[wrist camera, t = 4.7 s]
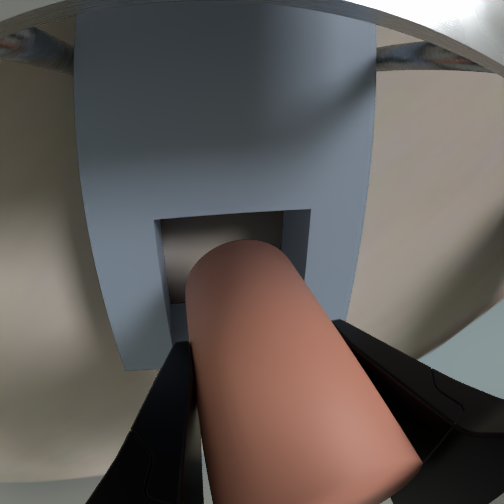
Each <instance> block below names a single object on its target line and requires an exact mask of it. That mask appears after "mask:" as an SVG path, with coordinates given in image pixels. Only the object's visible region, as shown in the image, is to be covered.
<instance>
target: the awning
mask: <svg viewBox="0 0 504 504" xmlns="http://www.w3.org/2000/svg"><path fill="white" fill-rule="evenodd" d="M180 1H233V2H250V3H263V4H273V5H281V6H289V7H296V8H303V9H309V10H315V11H320V12H326V13H331V14H335V15H340V16H344V17H349V18H353V19H357V20H361V21H365V22H369V23H372V24H376V25H379V26H383V27H386V28H389V29H392V30H396V31H399V32H402V33H405V34H408V35H410V36H413V37H416V38H419V39H422V40H424V41H422V42H413V43H405V44H397V45H390V46H384V47H378V48H376V71H394V70H458V71H475V72H488V73H496V74H498V75H500V76H502V77H503V78H504V0H0V59H3V60H9V61H14V62H19V63H24V64H29V65H33V66H38V67H42V68H47V69H51V70H55V71H59V72H63V73H67V74H71V75H74V47H73V46H71V45H69V44H67V43H65V42H63V41H61V40H59V39H57V38H55V37H53V36H51V35H49V34H47V33H45V32H43V31H41V30H39V29H37V28H35V27H34V26H37V25H40V24H44V23H47V22H51V21H55V20H58V19H62V18H66V17H70V16H75V15H79V14H84V13H89V12H94V11H99V10H105V9H111V8H117V7H124V6H132V5H140V4H150V3H162V2H180Z"/></svg>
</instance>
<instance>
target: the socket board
mask: <svg viewBox="0 0 504 504" xmlns="http://www.w3.org/2000/svg"><path fill="white" fill-rule="evenodd" d="M375 94H376V24H372V23H369V22H365V21H361V20H357V19H353V18H349V17H344V16H340V15H335V14H331V13H326V12H320V11H315V10H309V9H303V8H296V7H289V6H281V5H273V4H263V3H250V2H233V1H180V2H162V3H150V4H140V5H132V6H124V7H117V8H111V9H105V10H99V11H94V12H89V13H84V14H79V15H76V27H75V45H74V110H75V129H76V142H77V154H78V164H79V173H80V181H81V188H82V196H83V202H84V209H85V215H86V221H87V227H88V232H89V237H90V243H91V248H92V252H93V257H94V262H95V266H96V271H97V275H98V279H99V283H100V287H101V291H102V295H103V299H104V303H105V307H106V310H107V314H108V317H109V321H110V324H111V328H112V331H113V334H114V338H115V341H116V344H117V347H118V350H119V353H120V356H121V359H122V362H123V365H124V368H125V371H135V370H150V369H161V367H162V365H163V363H164V361H165V360H166V358H167V356H168V354H169V352H170V350H171V348H172V346H173V344H174V343H175V342H177V341H189V334H188V323H187V312H186V303H180V304H170V297H169V290H168V283H167V276H166V268H165V260H164V251H163V243H162V233H161V224H160V219H168V218H180V217H192V216H205V215H218V214H233V213H248V212H264V211H281V210H283V228H282V247H281V251H282V252H283V253H284V254H285V255H286V256H287V257H288V259H289V260H290V261H291V263H292V264H293V266H294V267H295V269H296V270H297V271H298V273H299V274H300V276H301V277H302V279H303V280H304V282H305V283H306V285H307V286H308V287H309V289H310V290H311V292H312V293H313V295H314V296H315V298H316V299H317V301H318V302H319V304H320V305H321V307H322V308H323V310H324V311H325V313H326V314H327V315H328V317H329V318H330V320H336V319H341V320H343V321H346V316H347V312H348V307H349V302H350V297H351V292H352V287H353V282H354V277H355V271H356V266H357V260H358V254H359V248H360V242H361V236H362V229H363V222H364V215H365V208H366V200H367V192H368V184H369V175H370V165H371V155H372V143H373V130H374V115H375Z"/></svg>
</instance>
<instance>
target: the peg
mask: <svg viewBox="0 0 504 504" xmlns="http://www.w3.org/2000/svg"><path fill="white" fill-rule="evenodd" d="M185 299H186V312H187V323H188V334H189V342H190V348H191V356H192V365H193V373H194V382H195V395H196V403H197V411H198V418H199V425H200V431H201V438H202V444H203V451H204V457H205V463H206V468H207V474H208V480H209V485H210V490H211V495H212V501H213V504H380V503H382V502H383V501H385V500H387V499H388V498H390V497H391V496H393V495H394V494H395V493H397V492H398V491H399V490H401V489H402V488H403V487H404V486H406V485H407V484H408V483H409V482H410V481H411V480H412V479H413V478H414V477H415V476H416V475H417V474H418V472H419V471H420V469H421V467H422V461H421V459H420V458H419V456H418V454H417V453H416V451H415V449H414V448H413V446H412V445H411V443H410V441H409V440H408V438H407V437H406V435H405V433H404V432H403V430H402V429H401V427H400V426H399V424H398V422H397V421H396V419H395V418H394V416H393V415H392V413H391V411H390V410H389V408H388V407H387V405H386V404H385V402H384V400H383V399H382V397H381V396H380V394H379V393H378V391H377V390H376V388H375V387H374V385H373V383H372V382H371V380H370V379H369V377H368V376H367V374H366V373H365V371H364V370H363V368H362V367H361V365H360V364H359V362H358V361H357V359H356V357H355V356H354V354H353V353H352V351H351V350H350V348H349V347H348V345H347V344H346V342H345V341H344V339H343V338H342V336H341V335H340V333H339V332H338V330H337V329H336V327H335V326H334V324H333V323H332V321H331V320H330V318H329V317H328V315H327V314H326V313H325V311H324V310H323V308H322V307H321V305H320V304H319V302H318V301H317V299H316V298H315V296H314V295H313V293H312V292H311V290H310V289H309V287H308V286H307V285H306V283H305V282H304V280H303V279H302V277H301V276H300V274H299V273H298V271H297V270H296V269H295V267H294V266H293V264H292V263H291V261H290V260H289V259H288V257H287V256H286V255H285V254H284V253H283V252H282V251H281V250H279V249H278V248H277V247H275V246H273V245H271V244H268V243H266V242H262V241H258V240H237V241H232V242H228V243H225V244H222V245H220V246H218V247H216V248H214V249H212V250H211V251H209V252H208V253H206V254H205V255H204V256H203V257H202V258H201V259H200V260H199V261H198V262H197V263H196V264H195V266H194V267H193V269H192V270H191V272H190V274H189V276H188V279H187V283H186V288H185Z"/></svg>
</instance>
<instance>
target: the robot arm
mask: <svg viewBox="0 0 504 504" xmlns="http://www.w3.org/2000/svg"><path fill="white" fill-rule="evenodd" d="M331 321H332V323H333V324H334V326H335V327H336V329H337V330H338V332H339V333H340V335H341V336H342V338H343V339H344V341H345V342H346V344H347V345H348V347H349V348H350V350H351V351H352V353H353V354H354V356H355V357H356V359H357V361H358V362H359V364H360V365H361V367H362V368H363V370H364V371H365V373H366V374H367V376H368V377H369V379H370V380H371V382H372V383H373V385H374V387H375V388H376V390H377V391H378V393H379V394H380V396H381V397H382V399H383V400H384V402H385V404H386V405H387V407H388V408H389V410H390V411H391V413H392V415H393V416H394V418H395V419H396V421H397V422H398V424H399V426H400V427H401V429H402V430H403V432H404V433H405V435H406V437H407V438H408V440H409V441H410V443H411V445H412V446H413V448H414V449H415V451H416V453H417V454H418V456H419V458H420V459H421V461H422V467H421V469H420V471H419V472H418V474H417V475H416V476H415V477H414V478H413V479H412V480H411V481H410V482H409V483H408V484H407V485H406V486H404V487H403V488H402V489H401V490H399V491H398V492H397V493H395V494H394V495H393V496H391V500H392V502H393V504H504V399H501V398H498V397H495V396H492V395H490V394H488V393H485V392H483V391H480V390H478V389H475V388H473V387H470V386H468V385H466V384H464V383H461V382H459V381H457V380H455V379H452V378H450V377H448V376H446V375H444V374H442V373H441V372H439V371H437V370H435V369H431V367H429V366H427V365H425V364H423V363H421V362H420V361H418V360H416V359H414V358H412V357H410V356H408V355H406V354H405V353H403V352H401V351H399V350H397V349H395V348H393V347H391V346H390V345H388V344H386V343H384V342H382V341H380V340H378V339H377V338H375V337H373V336H371V335H369V334H367V333H366V332H364V331H362V330H360V329H358V328H356V327H354V326H353V325H351V324H349V323H347V322H345V321H343V320H341V319H336V320H331ZM85 504H204V498H203V479H202V455H201V431H200V425H199V418H198V411H197V403H196V395H195V382H194V373H193V365H192V356H191V348H190V342H189V341H177V342H175V343H174V344H173V346H172V348H171V350H170V352H169V354H168V356H167V358H166V360H165V361H164V363H163V365H162V367H161V369H160V371H159V373H158V375H157V377H156V379H155V381H154V383H153V385H152V387H151V389H150V391H149V393H148V395H147V397H146V399H145V401H144V403H143V405H142V407H141V409H140V411H139V413H138V415H137V417H136V419H135V421H134V423H133V425H132V427H131V431H129V433H128V435H127V437H126V439H125V441H124V443H123V445H122V447H121V449H120V451H119V452H118V454H117V456H116V458H115V460H114V461H113V463H112V464H111V466H110V468H109V469H108V471H107V472H106V474H105V475H104V477H103V478H102V480H101V481H100V483H99V484H98V486H97V487H96V489H95V490H94V492H93V493H92V495H91V496H90V498H89V499H88V501H87V502H86V503H85Z"/></svg>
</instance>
